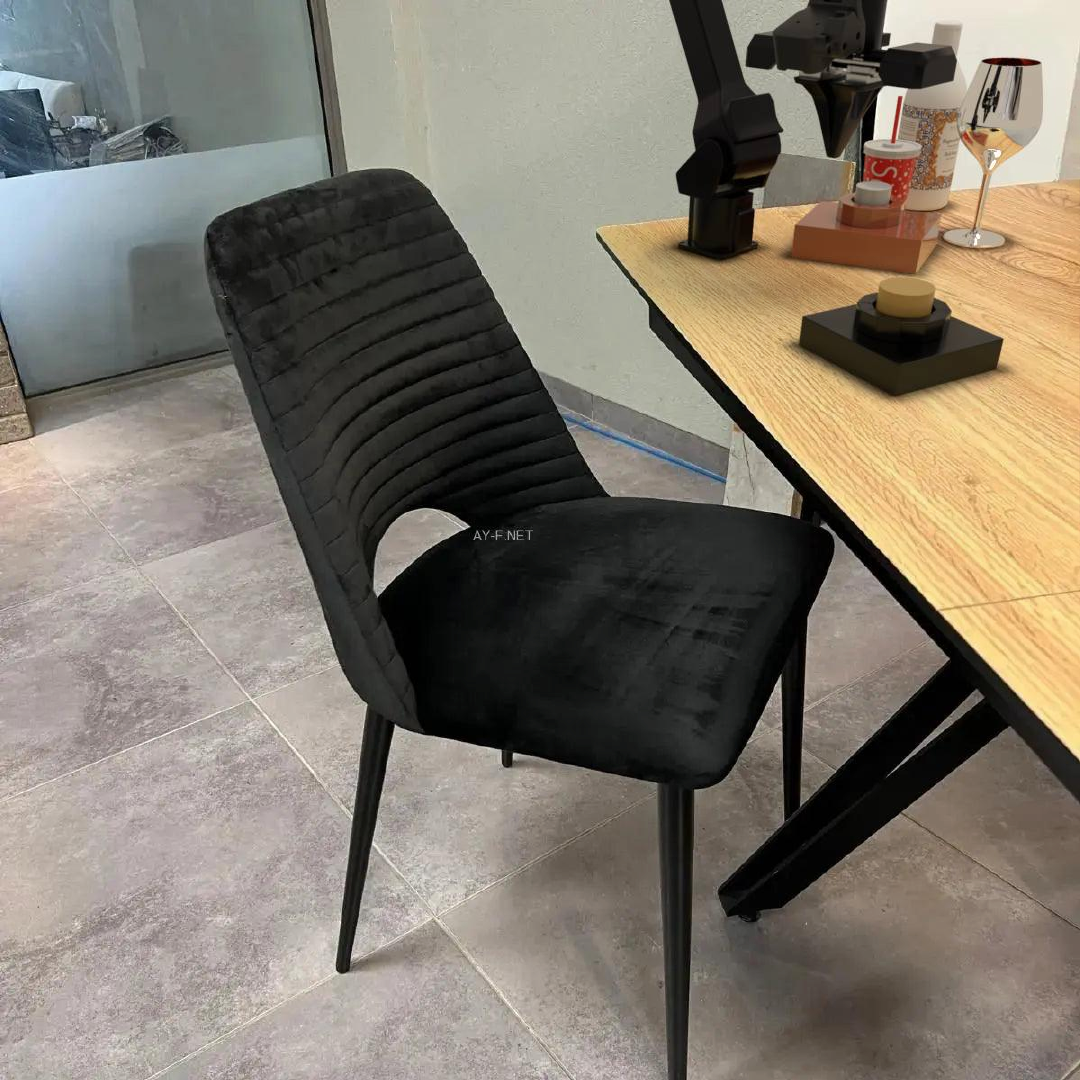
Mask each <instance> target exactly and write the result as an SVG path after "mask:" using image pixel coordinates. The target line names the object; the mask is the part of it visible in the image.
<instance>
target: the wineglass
mask: <svg viewBox="0 0 1080 1080" xmlns="http://www.w3.org/2000/svg"><path fill="white" fill-rule="evenodd" d="M1043 80H1044V79H1043V62H1042V61H1040V60H1037V59H1031V58H1026V57H1025V58H1024V57H1007V56H1005V57H1004V56H1003V57H988V58H983V59H981V60H980V61H979V64H978V67H977V68H976V70H975V73H974V75H973V77H972V79H971V82H970V83H969V86H968V87H967V93H966V95H965V97H964V100H963V102H962V104H961V107H960V110H959V113H958V117H957V131H958V134H959V137H960V142H962V144H963V146H964V147H965V148H966V150H967V151H968V152H969V153H970V154H971V155H972V156H973V158H974V159H975V160H976V161H977V163H978V164H979V165H980V168H981V170H982V178H981V179H982V180H981V185H980V189H979V194H978V200H977V204H976V208H975V213H974V218H973V222H972V224H971V227H970V228H955V229H951V230H947V231H946V232H944V233H943V236H942V237H943V240H944V241H945V242H947V243H949V244H951V245H954V246H959V247H962V248H969V249H994V248H997V247H1000V246H1002V245H1004V244H1005V241H1006V239H1005V237H1004V236H1003V235H1001V234H999V233H996V232H994V231H989V230H984V229H982V223H983V217H984V211H985V207H986V202H987V197H988V192H989V187H990V183H991V179H992V175H993V173H994V172H995V170H996V169H997V168H999V167H1000V166H1001V165H1002V164H1003V163H1005V162H1006V161H1007V160H1009V159H1010V158H1012V157H1013V156H1015V155H1016V154H1018V153H1019V152H1020V151H1022V150H1023V149H1024V148H1026V147H1027V146H1028V145H1029V144H1030V143H1031V142H1032V141H1033V140H1034V139H1035V137H1036V135H1037V134H1038V133H1039V131H1040V128H1041V126H1042V122H1043V118H1044V117H1043V115H1044V82H1043Z"/></svg>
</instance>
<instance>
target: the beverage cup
mask: <svg viewBox="0 0 1080 1080" xmlns="http://www.w3.org/2000/svg"><path fill="white" fill-rule="evenodd" d="M903 97H904V96H902V95H898V96H897V100H896V108H895V114H894V118H893V119H894V121H893V127H892V133H891V138H880V139H879V138H877V139H872V140H868V141H865V142H864V144H863V152H862V153H863V154H865V155H864V165H863V176H862V182H865V181H878V182H884V183H888V184H890V185H891V186H892V190H891V195H894V196H897V197H900V198H901V199H902V200H904V201H905V205H906V201H907V197H908V192H909V188H910V184H911V179H912V175H913V171H914V167H915V162H916V158H917V156H919V155H920V151H921V145H920V144H918V143H916V142H912V141H907V140H899V139H898V138H897V136H898V130H899V124H900V122H899V121H900V117H901V111H902V105H903ZM905 205H904V210H906V209H905Z"/></svg>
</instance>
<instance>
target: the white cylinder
mask: <svg viewBox="0 0 1080 1080" xmlns="http://www.w3.org/2000/svg"><path fill="white" fill-rule="evenodd" d="M891 190H892V186H891V185H890V184H888V183H884V182H878V181H865V182H863V181H860V182H858V183H856V184H855V191H854V193H855V196H854V203H857V204H860V205H868V206H884V205H888V204H889V202H890V196H891Z"/></svg>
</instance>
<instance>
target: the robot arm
mask: <svg viewBox="0 0 1080 1080" xmlns="http://www.w3.org/2000/svg"><path fill="white" fill-rule="evenodd" d="M888 1H889V0H808V3H807V5H806V7H804V8H803V9H800V10H798V11H796V12H795V13H793V15H791V16H789V18H787V19H786V20H784V21H783V22H782V23H781V24H779V25H778V26H777V27H775V28H774V29H773V30H770V31H769V30H768V31H764V32H759V33H754V34H753V36H752V38H751V39H750V41H749V43H748V45H747V46H746V54H745V64H744V65H745V67H746V68H751V69H760V70H766V71H769V70H772V69H774V67H776V69H777V70H778V71H781V72H786V71H787V70H791V71H797V72H798V75H797V76H793V81H794V83H795V84H797V85H801V86H802V87H803V89H805V91H807V93H808V94H809V95H810V96H811V98H812V101H813V104H814V108H815V110H816V114H817V118H818V122H819V127H820V132H821V136H822V141H823V145H824V150H825V154H826V158H829V159H837V158H838V159H839V158H840V157H841V156H842V154H843V152H844V150H845V149H846V147H847V145H848V143H849V142H850V140H851V138H852V137H853V135H854V133H855V131H856V129H857V128H858V126H859V124H860V123H861V120H862V119H863V117H864V116H865V115H866V112H867V111H868V109H869V108H870V107H871V105H872V104H873V102H874V101H875V99H876V98H877V97H878V95H879V94H880V92H881V91H882V90H883V88H884V87H891V88H892V87H893V88H900V89H905V90H907V89H923V88H927V87H931V86H935V85H939V84H943V83H947V82H951V81H954V75H955V70H956V64H957V60H958V58H957V59H956V57H957V56H955V53H954V51H953V48H952V46H947V45H937V44H932V43H927V42H918V41H916V42H911V43H905V44H902V45H897V46H892V47H889V46H890V43H891V36H892V32H884V30H885V29H884V27H885V21H886V13H887V7H888ZM668 2H669V5H670V9H671V12H672V15H673V19H674V22H675V26H676V30H677V32H678V36H679V40H680V43H681V47H682V50H683V53H684V56H685V60H686V63H687V67H688V70H689V73H690V77H691V81H692V84H693V88H694V91H695V95H696V98H697V107H696V112H695V117H694V121H693V125H692V138H693V145H694V152H692V154H691V155H690V156H689V157H688V158H687V160H686V161H685V162H683V163H682V165H681V166H680V167H679V168H678V170H676V172H675V180H676V185H677V192H678V193H679V194H680V195H684V196H687V197H689V202H688V203H689V204H688V205H689V206H688V223H687V239H683V240H681V241H678V242H677V248H680V249H683V250H686V251H689V252H693V253H696V254H699V255H702V256H706V257H710V258H713V259H716V260H725V259H728V258H730V257H734V256H736V255H739V254H742V253H744V252H745V253H746V252H748V251H751V250H753V249H754V250H755V249H756V248H758V247H759V241H756V240H753V239H754V229H755V228H754V226H755V215H756V209H755V208H754V195H755V192H754V191H752V190H756V189H763V188H765V187H766V184H767V182H768V179H769V177H770V174H771V172H772V170H773V169H774V167H775V165H776V164H777V162H778V159H779V155H780V154H782V140H781V135H780V134H782V133H784V128H783V127H782V125H781V124H780V122H779V120H778V117H777V113H776V107H775V106H776V105H775V100H774V98H773V96H772V94H771V93H770V92H763V93H760V94H756V93H755V91H753V90H752V89H751V88H750V86H749V85H748V84H747V81H746V79H745V77H744V73H743V71H742V66H741V63H740V60H739V56H738V52H737V49H736V46H735V42H734V37H733V35H732V31H731V27H730V24H729V20H728V18H727V13H726V10H725V6H724V3H723V0H668ZM884 47H888V48H887V49H881V48H884ZM844 69H846V70H844Z"/></svg>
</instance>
